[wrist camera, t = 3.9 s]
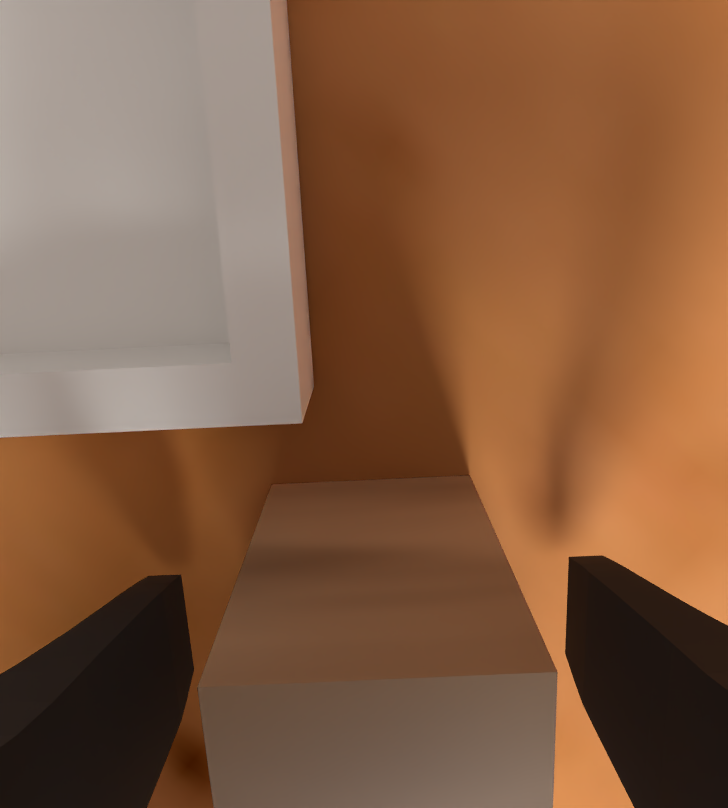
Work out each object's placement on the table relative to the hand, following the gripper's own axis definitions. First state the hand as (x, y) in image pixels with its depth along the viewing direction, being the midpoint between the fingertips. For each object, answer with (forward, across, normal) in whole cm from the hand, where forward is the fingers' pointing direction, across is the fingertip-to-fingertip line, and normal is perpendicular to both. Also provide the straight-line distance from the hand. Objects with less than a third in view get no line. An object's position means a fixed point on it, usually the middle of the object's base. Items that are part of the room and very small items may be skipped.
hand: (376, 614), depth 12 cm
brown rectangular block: (+2, 0, 0) cm, 2 cm away
